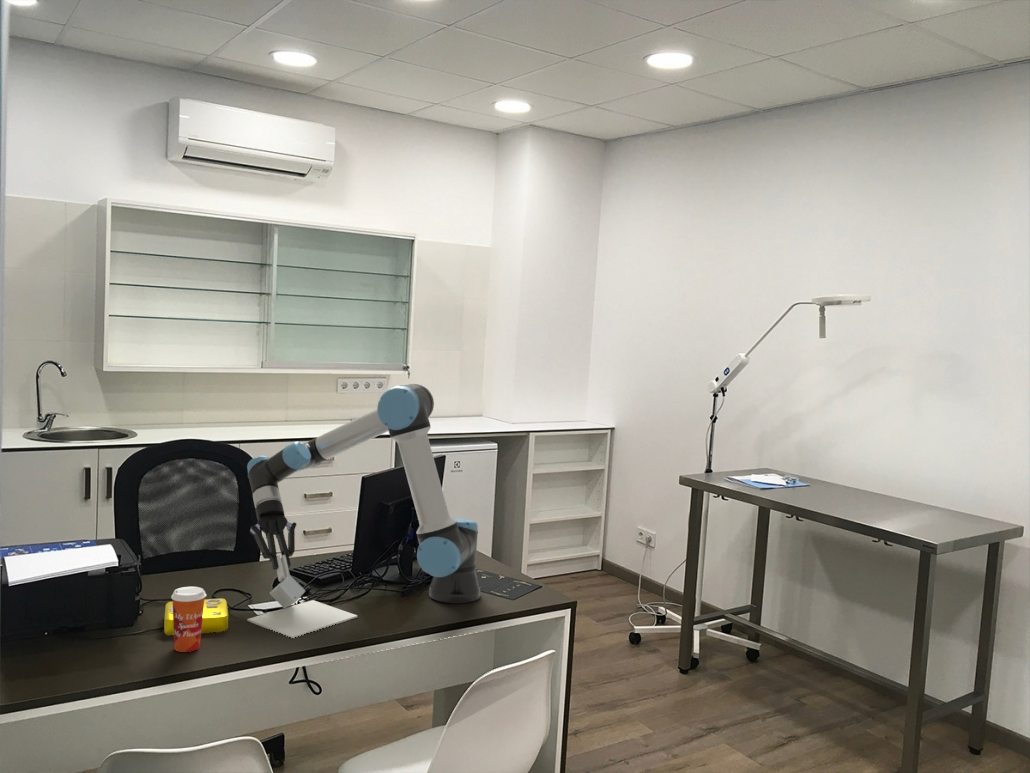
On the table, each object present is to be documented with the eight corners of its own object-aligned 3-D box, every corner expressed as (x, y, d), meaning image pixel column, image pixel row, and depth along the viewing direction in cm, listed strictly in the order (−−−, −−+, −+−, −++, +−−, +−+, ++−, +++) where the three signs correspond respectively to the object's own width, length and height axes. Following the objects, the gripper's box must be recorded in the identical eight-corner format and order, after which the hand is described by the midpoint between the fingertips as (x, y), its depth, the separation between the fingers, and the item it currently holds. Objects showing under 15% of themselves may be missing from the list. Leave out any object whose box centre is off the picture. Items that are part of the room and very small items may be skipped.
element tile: (165, 617, 222) (166, 599, 222) (225, 613, 228) (226, 596, 228) (163, 637, 208) (164, 618, 208) (228, 633, 214) (228, 614, 214)
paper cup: (170, 656, 197) (171, 597, 196) (169, 644, 204) (170, 587, 203) (205, 652, 200) (207, 594, 199) (203, 641, 207) (205, 584, 206)
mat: (357, 617, 229) (357, 615, 229) (292, 638, 211) (292, 636, 211) (312, 601, 240) (312, 600, 240) (247, 620, 222) (247, 619, 222)
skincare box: (295, 597, 235) (306, 591, 226) (284, 609, 233) (294, 603, 223) (280, 582, 235) (290, 575, 225) (268, 593, 232) (278, 586, 223)
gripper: (288, 511, 250) (305, 582, 237) (241, 514, 242) (255, 588, 229) (295, 497, 245) (313, 569, 232) (247, 499, 238) (262, 574, 225)
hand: (284, 578), depth 231 cm, fingers closed, pressing on skincare box
